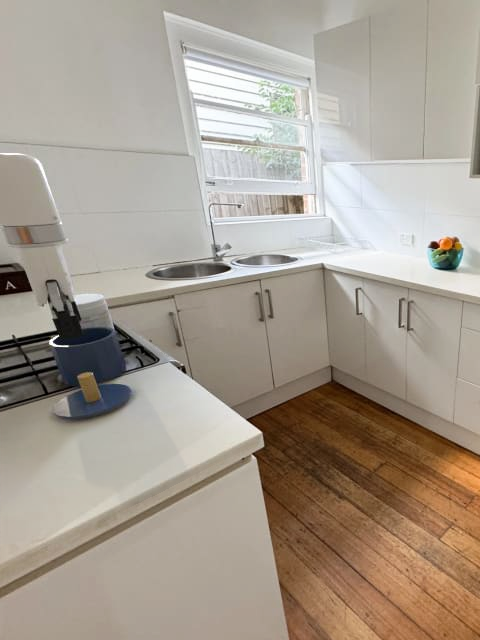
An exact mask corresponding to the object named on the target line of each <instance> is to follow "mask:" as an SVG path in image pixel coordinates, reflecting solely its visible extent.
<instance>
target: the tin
mask: <svg viewBox="0 0 480 640" xmlns="http://www.w3.org/2000/svg"><path fill="white" fill-rule="evenodd" d="M82 331H83V334H84V335H83V336H82V337H77V338H72V339H66V340H61V339H60V337H59V335H58V334H57V335H56V336H54V337H52V338H51V339H50V340H48V345H49V348H50V351H51V354H52V356H53V358H54V361H55V363H56V367H57V368H58V371H59V373H60V376H61V379H62V382H64V384H65V385H67V386H69V387H81V386H80V383H79V381H78V378H77V376H78V375H80V374H83V373H87V372H91V373H93V375H94V378H95V381H96V384H97V385H100V384H102V383H103V384H104V383H106V382H109V381H111V380H112V381H113V380H114V379H116V378H118V377H121V375H123V374H124V373H125V372H126V371H127V364H126V361H125V357H124V354H123V351H122V348H121V345H120V341H119V339H118V335H117V332H116V329H115V328H114V329H112V328H109V327H91V328H84V329H82Z"/></svg>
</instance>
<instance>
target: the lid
mask: <svg viewBox="0 0 480 640" xmlns="http://www.w3.org/2000/svg"><path fill="white" fill-rule="evenodd" d="M77 378H78V381H79V383H80V386H79V387H80V389H79V390H77V391H74V392H72V393H70V394H68V395H66V396H64V397H62V398H61V399H60V400H58V401H57V402H56V403H55V404H54V406H53V407H52V412H53V414H54V416H55V417H57V418H60V419H63V420H77V419H78V420H79V419H85V418H86V419H87V418H90V417H94V416H98V415H101V414H105V413H107V412H110V411H112V410H114V409H117V408H118V407H120V406H122V405H123V404H124V403H126V402H127V401H128V400H129V399H130V398H131V397H132V389H131V388H130V386H128V385H127V384H123V383H103V384H96V381H95V378H94V375H93V373H91V372H87V373H83V374H80V375H78V376H77Z"/></svg>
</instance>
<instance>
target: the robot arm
mask: <svg viewBox="0 0 480 640" xmlns="http://www.w3.org/2000/svg"><path fill="white" fill-rule="evenodd" d="M0 229H1V232H2V234H3V237H4V239H5V242H6V243H7V246H8V247H9V248H14V249H18V253H19V256H20V260H21V264H22V266H23V268H24V272H25V274H26V276H27V277H26V278H27V279H28V283H29V284H30V287H31V290H32V292H33V295H34V298H35V302H36V305H37V306H39V307H43V308H44V307H45V305H48V306H49V309H50V313H51V316H52V318H51V320H52V322H53V324H54V328H55V330H56V332H57V336H58V335H59V337H60V339H61V340H66V339H72V338H77V337H82V336H83V335H84V334H83V331H82V328H81V325H80V323H79V321H81V316H80V314H79V311H78V308H77V305H76V303H75V301H74V300H75V297H74V295H75V289H74V284H73V280H72V276H71V272H70V268H69V266H68V263H67V260H66V258H65V254H64V252H63V249H62V245H64V244H66V243H67V244H68V243H69V239H68V236H67V233H66V231H65V227H64V224H63V222H62V220H61V216H60V214H59V210H58V208H57V205H56V202H55V199H54V197H53V194H52V190H51V188H50V185H49V181H48V179H47V176H46V173H45V170H44V168H43V164H42V163H41V162H40V160H39V159H37V158H36V157H35V156H33V155H30V154H24V153H6V152H0Z"/></svg>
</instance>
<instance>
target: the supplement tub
mask: <svg viewBox="0 0 480 640" xmlns="http://www.w3.org/2000/svg"><path fill="white" fill-rule="evenodd" d="M74 297H75V300H74V301H75V303H76V305H77V308H78V311H79V314H80V316H81V321H79V323H80V325H81V328H82V329H84V328H91V327H109V328H112V329H115V327H114V324H113V320H112V317H111V313H110V310H109V306H108V303H107V300H106V299H105V296H104V295H103V294H100V293H81V294H74Z"/></svg>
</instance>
